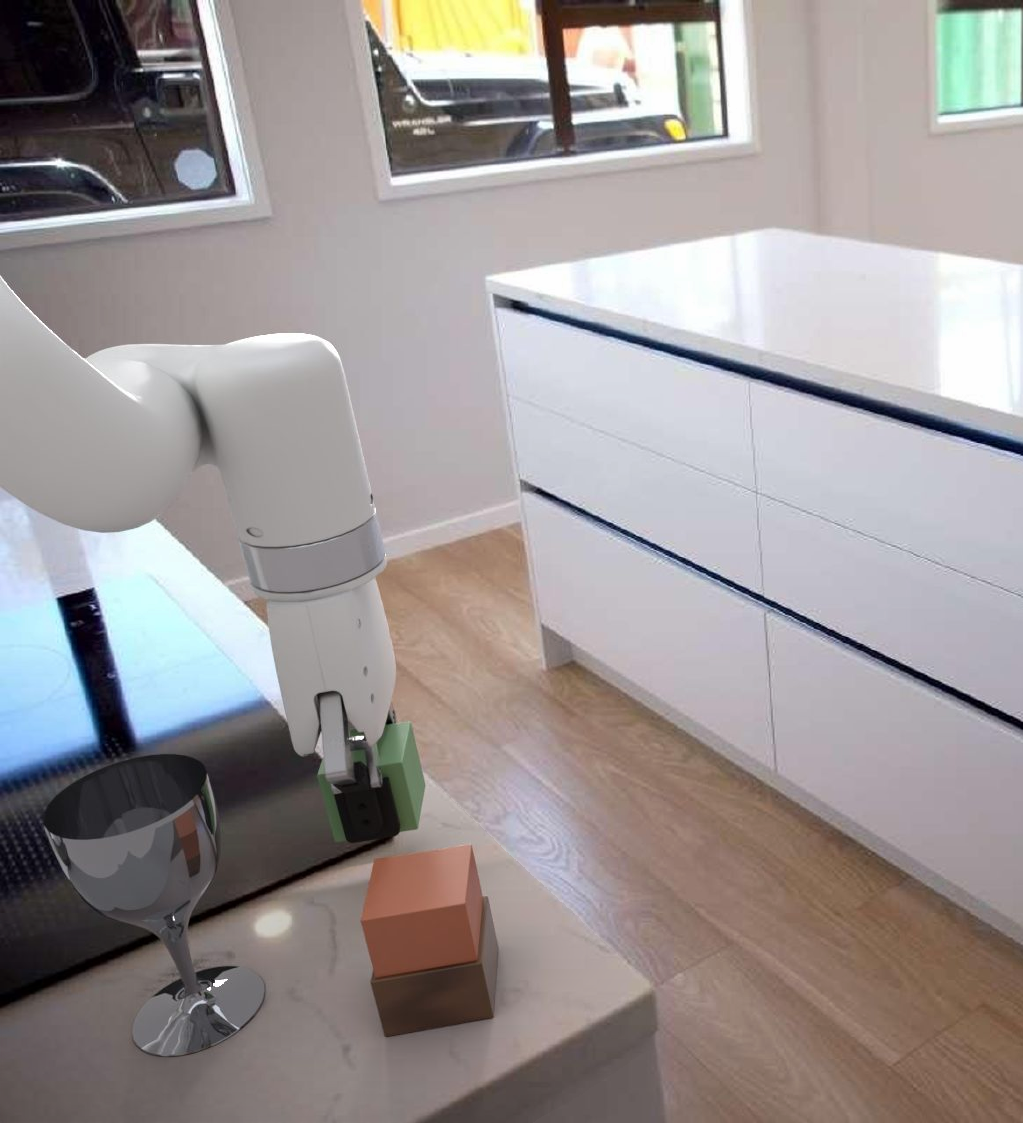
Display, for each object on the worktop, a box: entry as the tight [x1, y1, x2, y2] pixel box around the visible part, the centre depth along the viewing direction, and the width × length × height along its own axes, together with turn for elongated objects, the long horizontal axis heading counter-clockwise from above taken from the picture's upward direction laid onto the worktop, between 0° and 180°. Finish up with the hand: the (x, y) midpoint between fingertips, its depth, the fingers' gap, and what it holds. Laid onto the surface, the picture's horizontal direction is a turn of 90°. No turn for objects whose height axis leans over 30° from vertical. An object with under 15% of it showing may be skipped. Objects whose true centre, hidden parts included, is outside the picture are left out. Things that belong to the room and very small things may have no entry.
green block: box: [316, 720, 426, 843], centre depth 81 cm, size 5×5×5 cm
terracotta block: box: [360, 843, 484, 978], centre depth 72 cm, size 6×6×4 cm
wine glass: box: [42, 753, 266, 1057], centre depth 71 cm, size 8×8×15 cm
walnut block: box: [369, 895, 499, 1037], centre depth 74 cm, size 6×6×4 cm
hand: (379, 807), depth 81 cm, fingers closed on green block, 5 cm apart
